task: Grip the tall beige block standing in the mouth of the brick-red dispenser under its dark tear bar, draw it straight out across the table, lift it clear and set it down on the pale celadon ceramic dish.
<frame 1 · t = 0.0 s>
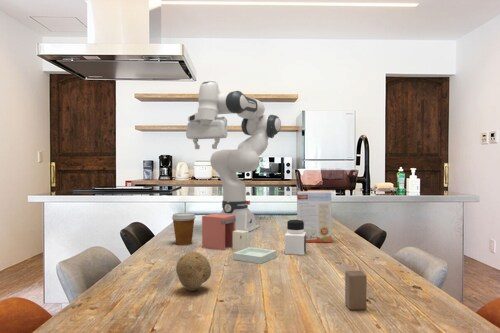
hand: (205, 148, 179), 39 cm above the table, tool pointing down, fingers open, 8 cm apart
tall beige block: (240, 249, 155), on the table
medicine bottle: (295, 253, 150), on the table
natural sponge: (194, 290, 107), on the table
cracker box: (313, 241, 171), on the table
dish: (255, 258, 141), on the table
wooden block: (355, 308, 94), on the table
dispenser: (227, 247, 158), on the table
disposable coffee cup: (183, 243, 167), on the table
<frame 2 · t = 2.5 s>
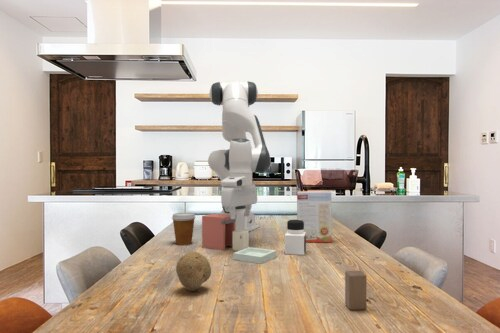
hand: (240, 217, 155), 12 cm above the table, tool pointing down, fingers open, 8 cm apart
nothing on the table moved.
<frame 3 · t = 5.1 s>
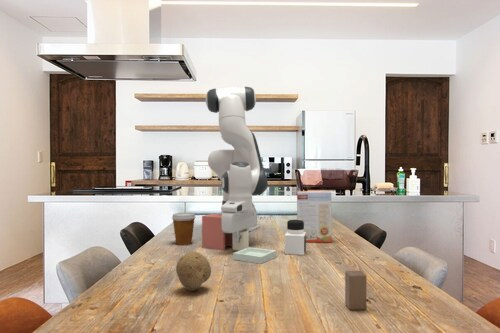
hand: (240, 241, 155), 3 cm above the table, tool pointing down, fingers closed on tall beige block, 3 cm apart
tall beige block: (240, 249, 155), on the table, touching gripper
everything else where it was.
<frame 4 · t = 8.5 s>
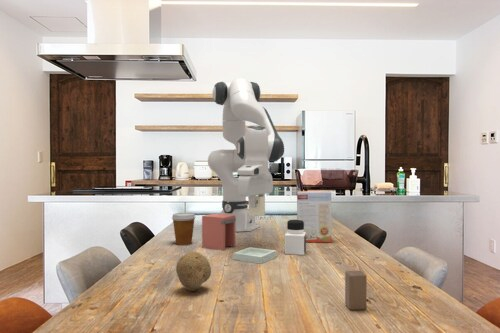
hand: (256, 206, 151), 17 cm above the table, tool pointing down, fingers closed on tall beige block, 3 cm apart
tall beige block: (256, 215, 151), point 13 cm above the table, touching gripper
everything else where it was.
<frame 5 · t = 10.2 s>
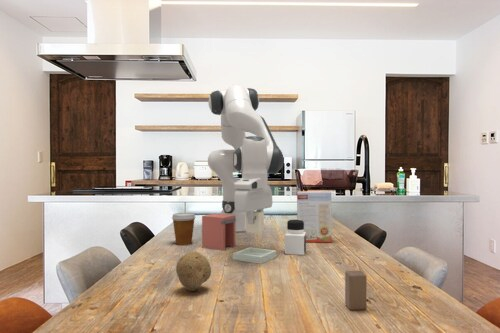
hand: (254, 223, 141), 12 cm above the table, tool pointing down, fingers closed on tall beige block, 3 cm apart
tall beige block: (254, 232, 141), point 9 cm above the table, touching gripper
everything else where it was.
when the fingers open (5 cm above the table, at t = 11.7 s): tall beige block stays where it is, resting on dish.
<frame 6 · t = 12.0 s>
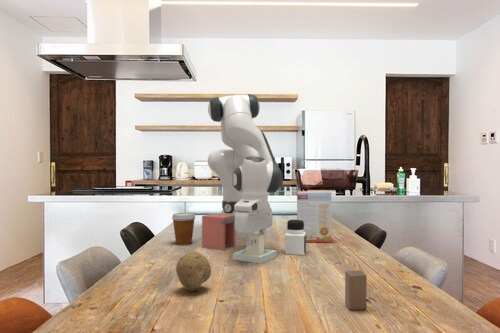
hand: (255, 243, 141), 5 cm above the table, tool pointing down, fingers open, 6 cm apart
tall beige block: (255, 255, 142), point 1 cm above the table, touching dish
everything else where it was.
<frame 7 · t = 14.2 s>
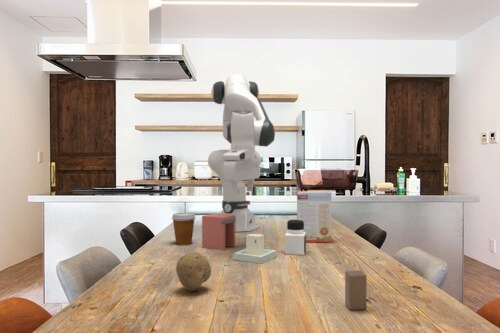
hand: (243, 192, 149), 22 cm above the table, tool pointing down, fingers open, 8 cm apart
nothing on the table moved.
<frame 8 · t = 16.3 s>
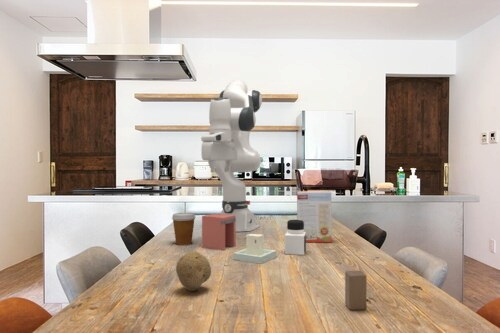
hand: (220, 172, 164), 29 cm above the table, tool pointing down, fingers open, 8 cm apart
nothing on the table moved.
at the end: tall beige block inside the target area on the dish (0.1 cm from its centre), point 1.0 cm above the dish's base; the gripper is holding nothing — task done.
